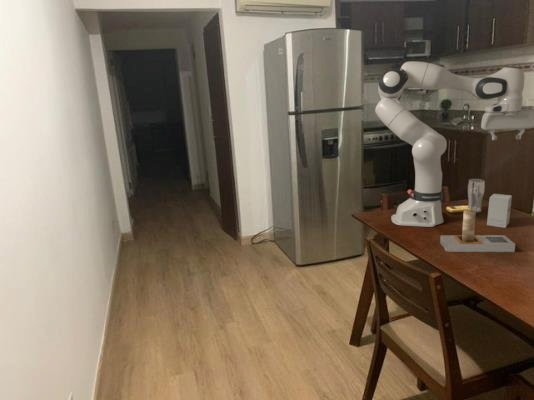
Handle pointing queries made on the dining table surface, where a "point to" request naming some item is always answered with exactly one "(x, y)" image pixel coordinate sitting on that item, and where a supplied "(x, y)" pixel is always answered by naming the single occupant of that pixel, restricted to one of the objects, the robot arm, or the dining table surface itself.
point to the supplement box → (499, 210)
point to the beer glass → (475, 194)
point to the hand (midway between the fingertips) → (506, 139)
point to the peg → (468, 226)
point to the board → (477, 243)
